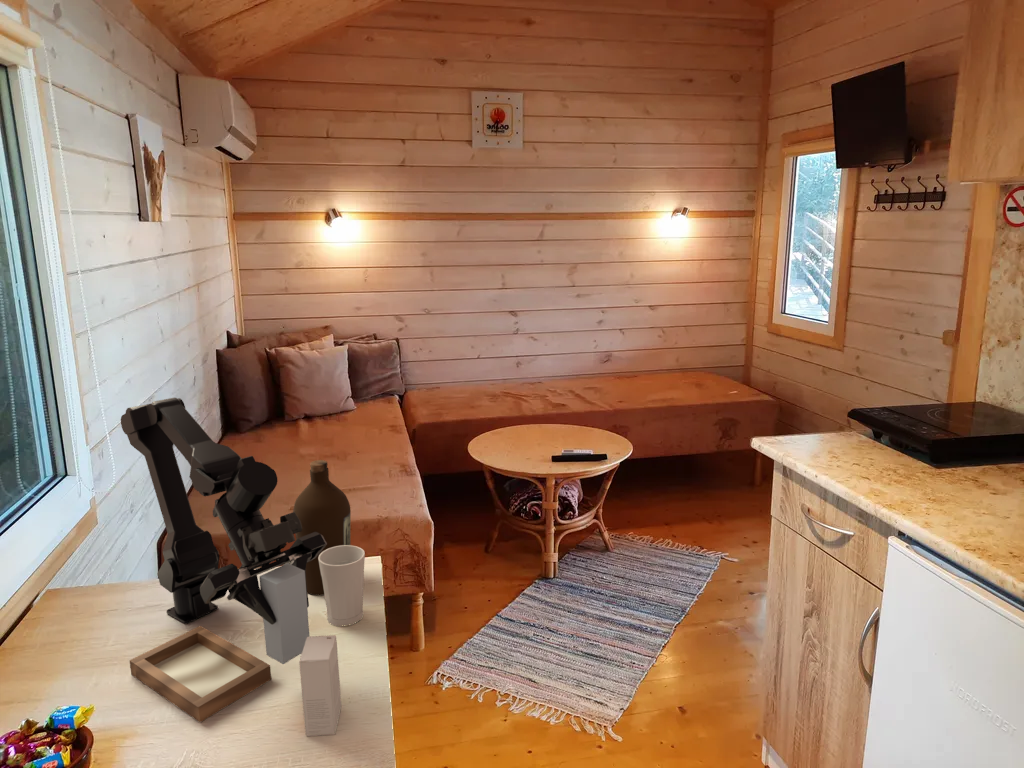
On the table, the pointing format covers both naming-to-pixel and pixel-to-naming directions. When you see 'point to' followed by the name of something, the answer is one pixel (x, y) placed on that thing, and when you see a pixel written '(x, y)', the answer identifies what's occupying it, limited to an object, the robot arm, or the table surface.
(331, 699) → the skincare box
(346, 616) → the cup
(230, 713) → the table surface
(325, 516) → the olive oil
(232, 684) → the wooden frame
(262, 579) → the tall grey pillar block
